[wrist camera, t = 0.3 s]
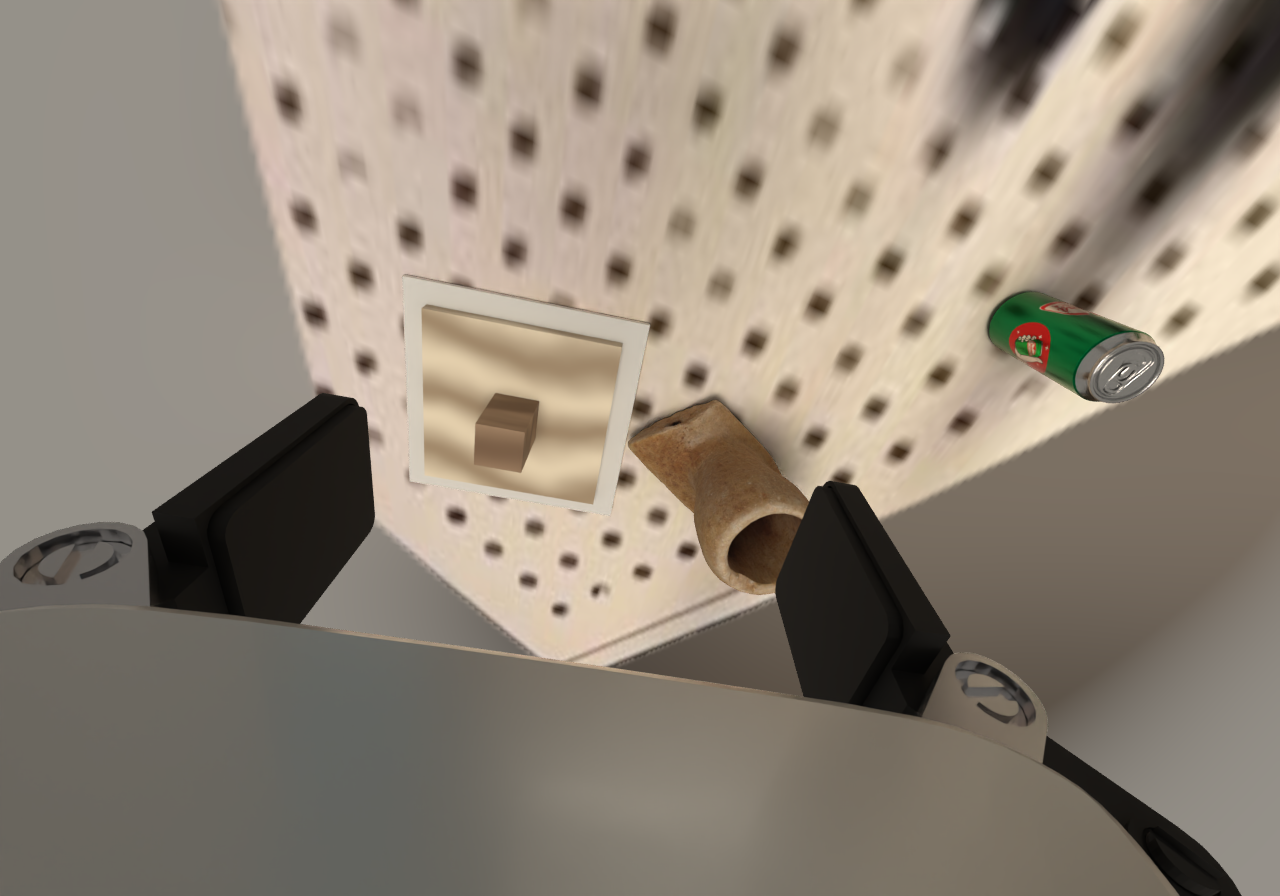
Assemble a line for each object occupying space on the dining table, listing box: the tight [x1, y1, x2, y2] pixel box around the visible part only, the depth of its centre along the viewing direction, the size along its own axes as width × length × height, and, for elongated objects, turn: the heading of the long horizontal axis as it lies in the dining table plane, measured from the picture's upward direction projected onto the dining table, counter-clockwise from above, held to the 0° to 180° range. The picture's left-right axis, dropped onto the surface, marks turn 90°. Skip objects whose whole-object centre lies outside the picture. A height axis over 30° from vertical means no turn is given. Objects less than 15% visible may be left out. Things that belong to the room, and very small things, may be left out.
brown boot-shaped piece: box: [628, 400, 809, 595], centre depth 45 cm, size 15×12×15 cm
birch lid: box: [421, 304, 623, 505], centre depth 46 cm, size 17×17×7 cm
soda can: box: [989, 292, 1164, 403], centre depth 39 cm, size 5×5×12 cm
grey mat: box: [402, 274, 650, 516], centre depth 49 cm, size 21×21×1 cm
